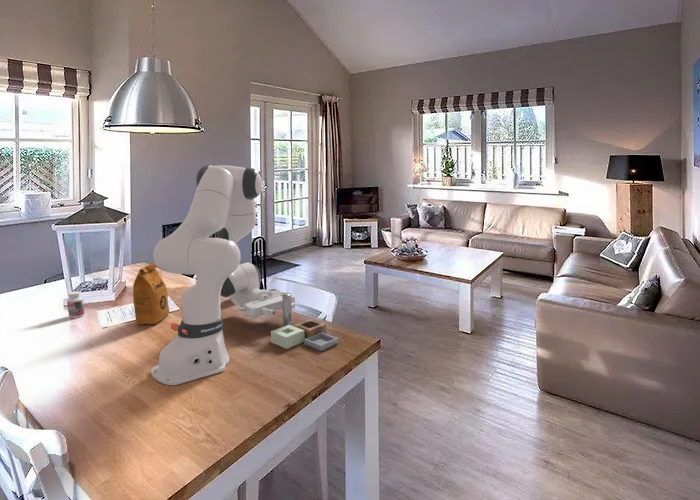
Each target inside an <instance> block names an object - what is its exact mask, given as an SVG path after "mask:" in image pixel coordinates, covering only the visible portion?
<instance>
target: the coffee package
mask: <svg viewBox="0 0 700 500" xmlns="http://www.w3.org/2000/svg"><path fill="white" fill-rule="evenodd" d="M156 268H158V267H157V265H156V264H155V262H153V263H151V264H148V265H145V266H143V267H142V268H139V270H138V273H137V275H136V277H135V279H134V282H133V285H132V296H133V298H132V299H133V301H132V302H133V307H134V309H133V310H134V313H135V323H136V325H138V326H139V325H140V326H141V325H156V324H158V323H159V322H160V321H162V320H164V319H165V318H166V317H168V316H169V314H170V307H169V306H170V305H169V299H168V297H169V296H168V289H167V285H166V283H165V281H164V280H163V278H162V277H161V276H160V275H159V273H158V270H157V269H156Z"/></svg>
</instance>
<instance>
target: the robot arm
mask: <svg viewBox="0 0 700 500" xmlns="http://www.w3.org/2000/svg"><path fill="white" fill-rule="evenodd" d="M195 183H196V190H195V193H194V196H193V200H192V203H191V204H190V208H189V211H188V214H187V215H186V217H185V218H184V220H183V221H182V223H181V224H180V225H179V226H178V227H177V228H176V229H175V230H173V232H172V233H169V235H168V236H166V237H163V238H162V239H160V240H159V241H158V242H157V243H156V245H155V246H154V250H153V260H154V263H155V264H156V265H157V267H156V268H158V269H159V270H161V271H164V272H168V273H171V274H176V275H195V276H196V277H195V278H196V279H195V280H196V281H195V284H194V285H192V286H190V287H187V288H186V289H185V291H183V293H182V294H181V297H180V305H181V315H182V316H181V317H182V319H181V321H180V324H179V323H176V322H173V323H171V324H170V329H171V330H173V331H177V334H176V335H175V336H174V338H172V340H170V342H169V343H168V344H166V346H165V347H163V349H162V350H161V351H160V353H159V357H158V364H157V365H155V366H153V367H152V368H151V370H150V373H151V374H150V375H151V377H152V378H153V379H154V380H155V381H157V382H159V383H161V384H163V385H166V386H167V385H168V386H178V385H180V384H181V385H182V384H185V383H188V382H190V381H194V380H198V379H201V378H205V377H208V376H212V375H215V374H218V373H221V372H224V371H225V369H226V365H227V364H229V361H230V356H229V354H228V351H227V348H226V344H225V338H224V318H223V316H222V313H221V312H222V311H221V298H229V300H230V301H231V302H232V303H233V304H234V305H236V306H237V307H239V311H241V312H243V313H244V314H245V316H248V317H250V318H258V317H261V316H263V315H264V316H274V315H276V314H275V313H276V311H281V310H283V301H282V294H284V293H287V292H286V291H281V290H280V289H278V288H273V289H260V288H261V282H262V281H261V280H262V277H261V272H260V270H259V268H258V267H257V266H256V265H255V264H253V262H252V263H251V262H250V261H247V262H244V263H241V259H242V256H241V255H242V254H241V250H240V248H239V246H238V245H237V243H239V241H240V240H241V239H244V237H246V236H248V235H249V234H250V233H251V232H252V230H253V229H254V228H255V227H256V221H257V212H256V202H255V199H256V198H258V197H259V196H260V194H261V192H262V188H263V179H262V175H261V173H260V171H259V170H258V169H255V168H253V167H243V166H235V165H229V164H228V165H227V164H224V165H223V164H221V165H213V164H209V165H204V166H202V167H201V168H200V169H198V171H197V172H196V180H195ZM216 233H217V236H216V237H211V236H213V235H214V234H216ZM291 298H292V310H293V309H296V297H295V295H294V294H292V293H291Z"/></svg>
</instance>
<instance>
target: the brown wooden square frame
mask: <svg viewBox="0 0 700 500" xmlns="http://www.w3.org/2000/svg"><path fill="white" fill-rule="evenodd" d="M293 326H294V327H297V328H299V329H302V330H304V335H305V339H306V338H308V337H311V336H313V335H316V334H318V333H321V332H322V333H325V334H327V335H328V333H327V323H324V322H321V321H318V320H315V319H313V318H310V319H307V320H304V321H301V322H298V323H296V324H294V325H293Z"/></svg>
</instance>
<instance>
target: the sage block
mask: <svg viewBox="0 0 700 500" xmlns="http://www.w3.org/2000/svg"><path fill="white" fill-rule="evenodd" d="M270 338H271V339H270V342H271V343H272V344H275V345H276V346H280V347H282V348H283V349H287V350H288V349H290V348H292V347H295V346H298V345H300V344H302V343H304V339H305V335H304V330H302V329H299V328H297V327H294V325H292V326H291V325H287V326H282V327H279V328H276V329H273V330H270Z"/></svg>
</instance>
